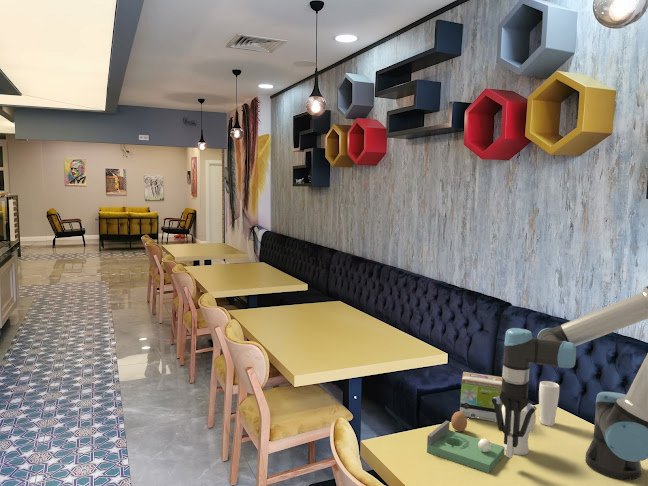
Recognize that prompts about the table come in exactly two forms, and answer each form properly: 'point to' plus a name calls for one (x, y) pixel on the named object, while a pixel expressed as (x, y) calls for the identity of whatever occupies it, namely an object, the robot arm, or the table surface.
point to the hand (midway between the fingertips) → (509, 455)
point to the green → (462, 448)
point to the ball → (484, 445)
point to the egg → (459, 421)
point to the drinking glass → (548, 402)
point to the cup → (522, 441)
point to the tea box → (479, 395)
